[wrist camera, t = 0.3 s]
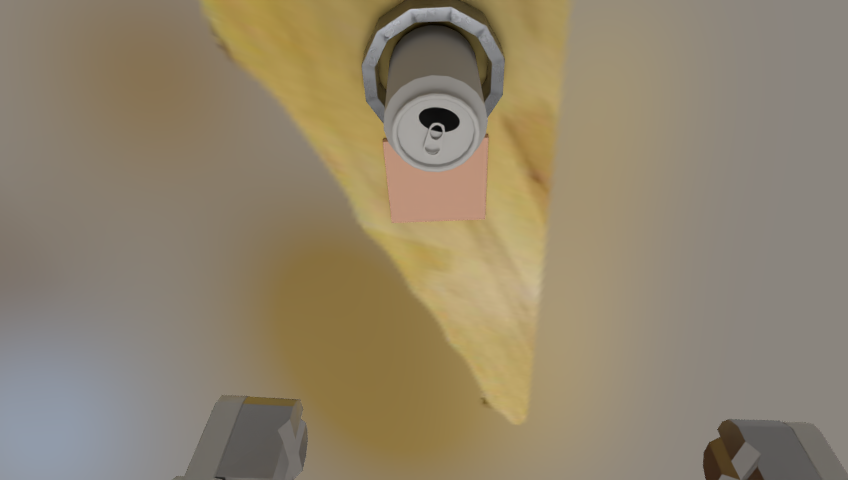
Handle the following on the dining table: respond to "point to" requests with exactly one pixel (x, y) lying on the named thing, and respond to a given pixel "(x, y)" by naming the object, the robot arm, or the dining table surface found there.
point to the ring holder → (430, 5)
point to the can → (434, 100)
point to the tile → (437, 189)
